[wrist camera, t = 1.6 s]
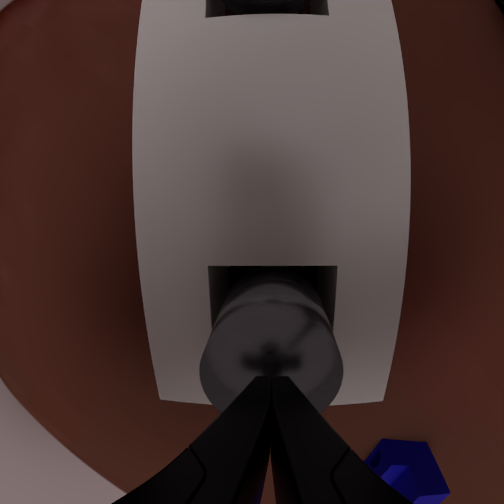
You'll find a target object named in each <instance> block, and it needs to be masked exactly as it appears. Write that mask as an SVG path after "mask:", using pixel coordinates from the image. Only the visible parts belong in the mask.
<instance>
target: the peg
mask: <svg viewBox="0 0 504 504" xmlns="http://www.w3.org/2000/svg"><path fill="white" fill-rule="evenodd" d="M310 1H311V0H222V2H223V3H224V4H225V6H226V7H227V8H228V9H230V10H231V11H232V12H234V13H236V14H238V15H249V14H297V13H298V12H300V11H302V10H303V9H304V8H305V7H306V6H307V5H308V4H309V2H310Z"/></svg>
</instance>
